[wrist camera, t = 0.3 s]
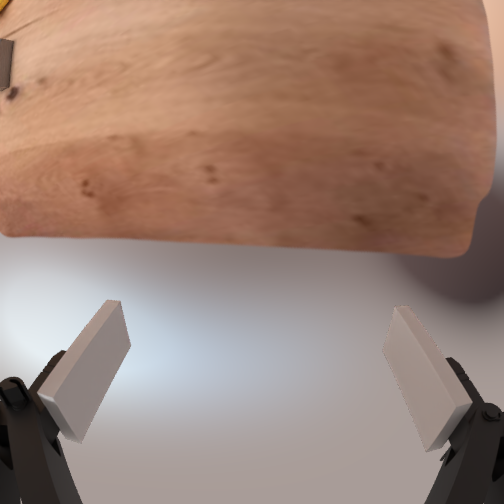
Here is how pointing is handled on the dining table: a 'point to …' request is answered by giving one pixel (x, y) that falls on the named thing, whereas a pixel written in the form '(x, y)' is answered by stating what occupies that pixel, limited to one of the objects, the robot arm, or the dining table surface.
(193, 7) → the dining table surface
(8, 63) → the grey socket base
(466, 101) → the dining table surface
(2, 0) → the teapot
